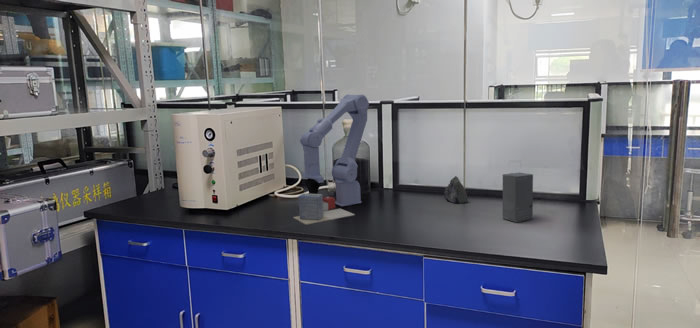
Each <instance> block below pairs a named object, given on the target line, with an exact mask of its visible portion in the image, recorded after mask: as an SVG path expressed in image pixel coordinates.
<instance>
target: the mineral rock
mask: <svg viewBox="0 0 700 328" xmlns="http://www.w3.org/2000/svg"><path fill="white" fill-rule="evenodd" d="M467 194H468V193H467V191H466V188H465V186H464V185H463V184H462V183H461V180H460V179H459V177H458V176H457V175H456V176H454V177H452V178H451V179H450V181H449V183H448V186H446V187H445V190H444V194H443V195H444V197H445V198H446V199H447V200H448V201H449V202H451V203H453V204H465V203H467V202H468V195H467Z"/></svg>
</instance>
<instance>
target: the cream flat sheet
mask: <svg viewBox="0 0 700 328" xmlns="http://www.w3.org/2000/svg"><path fill="white" fill-rule="evenodd" d="M355 215H356V214H355V213H352V212H350V211H348V210H345V209H342V208H334V209H329V210H328V211H324V217H323V218H321V219H320V220H312V219H300V216H299V215H297V216H293V217H292V219H294V220H296V221H297V222H299V223H301V224H303V225H305V226H307V225H308V226H309V225H312V224H317V223H323V222H327V221H334V220H337V219H338V220H339V219H342V218H348V217H349V218H350V217H354V216H355Z"/></svg>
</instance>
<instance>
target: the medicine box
mask: <svg viewBox="0 0 700 328" xmlns="http://www.w3.org/2000/svg"><path fill="white" fill-rule="evenodd" d="M323 198H324V195H323V193H318V194H309V193H301V194H300V195H298V196H297V199H298V211H299V213H298V216H300V219H312V220H320V219H321V218H323V217H324V212H323Z"/></svg>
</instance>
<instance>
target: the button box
mask: <svg viewBox="0 0 700 328" xmlns="http://www.w3.org/2000/svg"><path fill="white" fill-rule="evenodd" d="M324 211H329V210H328V203H326V202H324V201H323V212H324Z"/></svg>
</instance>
